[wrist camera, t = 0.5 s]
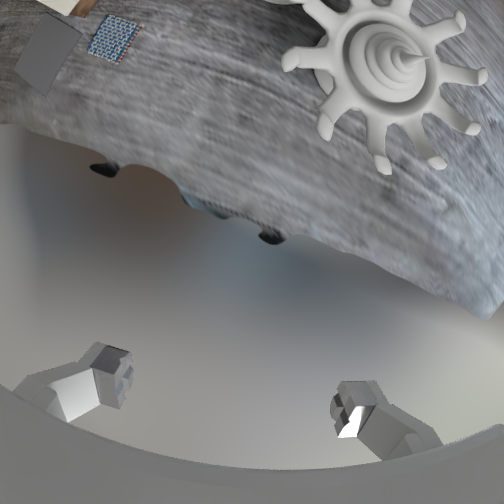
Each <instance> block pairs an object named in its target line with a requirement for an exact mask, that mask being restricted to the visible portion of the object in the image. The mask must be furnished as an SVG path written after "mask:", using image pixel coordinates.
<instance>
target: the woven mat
mask: <svg viewBox="0 0 504 504" xmlns="http://www.w3.org/2000/svg"><path fill="white" fill-rule="evenodd" d="M106 17H108V18H107V19H105V18H104V20H105V21H104V22H102V23H103V24H101V25H100V26H101V28H100V27H99V29H100V30H99V31H98V30H97V32H98V33H97V34H95V35H96V36H94V37H93V38H94V40H92V43H90V44H91V46H88V47H89V48H90V49H86V50H87V51H89V52H88V54H89V53H91V55H92V54H93V53H95V54H94V55H95V56H96V55H97V57H100V56H102V57H101V58H103V57H104V58H106V60H107V58H108V61H111V62H112V63H113V62H115V64H118V63H120V60H122V56H124V53H126V52H125V51H126V50H127V47H130V46H129V44H131V41H133V38H135V35H137V32H139V28H140V29H141V28H142V27H140V26H141V24H139V25H137V23H136V24H135V23H134V24H133V21H130V23H129V21H127V20H126V19H123V20H121V19H122V17H119V19H118V17H117V18H115V15H112V16H111V15H109V16H106ZM110 19H111V20H110ZM113 19H114V21H113ZM126 21H127V22H126ZM108 22H109V23H108ZM112 22H113V23H112ZM120 22H121V23H120ZM114 24H115V25H114ZM128 24H129V26H127V25H128ZM118 25H119V27H118ZM131 26H132V27H131ZM112 27H113V28H112ZM125 27H127V28H126V29H125ZM135 27H136V29H135ZM116 28H117V29H116ZM107 29H108V30H107ZM121 29H122V30H121ZM129 29H130V30H129ZM119 30H120V31H119ZM124 30H125V31H124ZM133 30H135V32H132V31H133ZM114 31H115V32H114ZM123 31H124V32H123ZM105 32H106V33H105ZM127 32H128V33H127ZM122 33H123V34H122ZM131 33H133V35H131ZM104 34H105V35H104ZM121 34H122V35H121ZM117 35H118V36H117ZM129 36H131V38H129ZM99 37H100V38H99ZM110 37H111V38H110ZM105 39H106V40H105ZM115 39H116V40H115ZM127 39H128V40H129V41H127ZM109 40H110V41H109ZM100 41H101V42H100ZM121 42H122V43H121ZM96 43H97V44H96ZM116 43H117V45H116ZM125 43H126V44H125ZM120 44H121V45H120ZM119 45H120V46H119ZM114 46H116V47H115V48H114ZM123 46H124V47H123ZM105 47H106V48H105ZM101 48H102V49H101ZM117 48H118V49H117ZM112 49H114V51H112ZM121 49H124V50H123V51H122V50H121ZM95 50H97V51H95ZM116 50H117V51H116ZM106 51H107V52H106ZM99 52H100V53H99ZM111 52H112V54H110V53H111ZM119 52H121V54H119ZM106 55H107V56H106ZM109 55H110V56H109ZM118 55H119V56H120V57H117V56H118ZM108 56H109V57H108ZM112 57H113V58H112ZM116 58H117V59H118V60H116Z"/></svg>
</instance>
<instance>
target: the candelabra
mask: <svg viewBox="0 0 504 504" xmlns="http://www.w3.org/2000/svg"><path fill="white" fill-rule="evenodd" d="M288 1H291V2H293V3H302V6H303V8H304V10H305V12H306V13H307V14H309V15H310V16H311V17H312V18H313V19H315V20H316V21H317V22H318V23H319V24H320V25H321V26H322V27H323V28H324V29H325V30H326V35H324V36H323V37H322V38H321V40H320V41H319V43H318V44H317V46H316V47H301V46H293V47H291V48H290V49H288V50H286V52H285V53H284V54H283V55H282V56H281V66H282V68H283V70H284V72H288V71H291V70H293V69H294V68H295V67H299V68H314V74H315V76H316V78H317V80H318V83H319V85H320V87H321V88H322V89H323V90H324V92H325V93H326V94H327V95H328V96H327V98H326V99H325V100H324V101H323V102H322V103H321V104H320V105H319V107H318V113H319V115H318V119H317V130H318V132H319V133H320V135H321V137H322V138H323V139H325V140H327V141H329V140H330V139H331V137H332V133H333V128H334V123H335V122H336V121H337V119H338V118H339V117H340V116H341V115H342V114H343V113H344V112H346V111H347V110H349V109H352V110H355V111H360V112H361V114H362V115H363V116H364V118H365V124H366V147H367V150H368V152H369V153H370V154H371V155H372V156H373V160H374V164H375V165H376V167H377V169H378V171H379V172H381V173H383V174H385V175H391V174H392V168H391V165H390V162H389V159H388V158H387V157H386V154H385V135H386V130H387V126H389V125H391V124H392V123H395V124H397V125H399V126H401V127H402V128H403V129H404V131H405V132H406V134H407V136H408V137H409V139H410V141H411V143H412V144H413V146H414V148H415V150H416V152H417V154H418V155H419V156H420V157H421V158H423V159H425V160H426V161H427V162H428V163H429V164H430V165H431V166H432V167H433V168H435V169H436V170H442V169H444V168H445V167H446V166H447V164H446V162H445V160H444V159H443V158H442V157H441V156H440V155H439V154H437V153H436V152H435V150H434V149H433V148H432V146H431V144H430V142H429V140H428V138H427V136H426V134H425V131H424V129H423V126H422V123H421V119H422V116H423V114H424V113H432V114H434V115H436V116H437V117H439V118H440V119H442V120H443V121H444V122H446V123H447V124H448V125H449V126H451V127H452V128H453V129H455V130H457V131H458V132H461V133H465V134H468V135H477V134H478V133H479V131H480V129H481V125H480V124H479V123H478V122H474V121H471V120H469V119H467V118H466V117H464V116H463V115H461V114H460V113H459V112H458V111H456V110H455V109H454V108H453V107H451V106H450V105H449V104H448V103H447V102H446V101H445V100H444V99H443V98H442V97H441V94H440V90H439V87H440V86H441V84H442V83H443V82H451V83H459V84H464V85H469V86H479V85H482V84H484V83H485V82H486V81H487V75H488V73H487V70H486V68H485V67H481V68H480V69H478V70H475V69H471V68H467V67H462V66H458V65H453V64H450V63H447V62H444V61H442V60H441V59H440V58H439V57H438V56H437V55H436V54H435V51H436V45H438V44H439V43H440V42H442V41H443V40H445V39H447V38H449V37H452V36H454V35H457V34H460V33H462V32H464V30H465V27H466V19H465V17H464V15H463V13H462V12H460V11H459V10H458V9H457V10H456V11H455V14H454V17H449V18H445V19H442V20H439V21H437V22H435V23H432V24H428V25H424V26H421V25H418V24H415V23H413V21H412V19H411V17H410V15H409V14H410V9H411V4H412V2H413V0H390V2H389V3H388V5H384V6H378V5H376V4H375V3H373V2H372V1H371V0H349V1H350V7H349V8H348V10H347V12H343V13H337V12H336V11H334V10H332V9H331V8H329V7H328V6H326V5H325V4H324V3H323V2H322V1H321V0H288Z"/></svg>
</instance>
